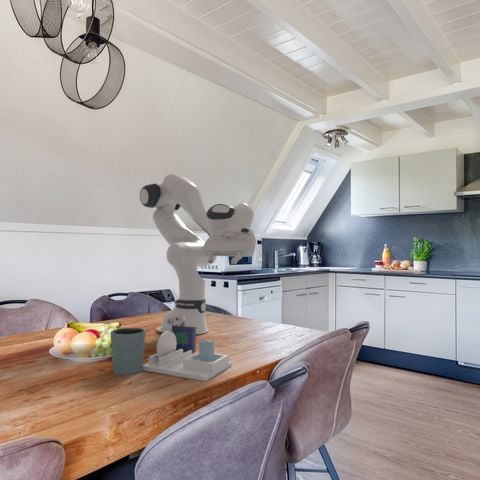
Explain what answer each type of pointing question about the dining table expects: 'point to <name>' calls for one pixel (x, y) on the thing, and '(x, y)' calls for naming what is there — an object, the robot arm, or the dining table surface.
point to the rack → (183, 361)
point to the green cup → (127, 350)
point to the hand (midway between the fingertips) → (221, 262)
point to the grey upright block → (206, 350)
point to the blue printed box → (185, 336)
